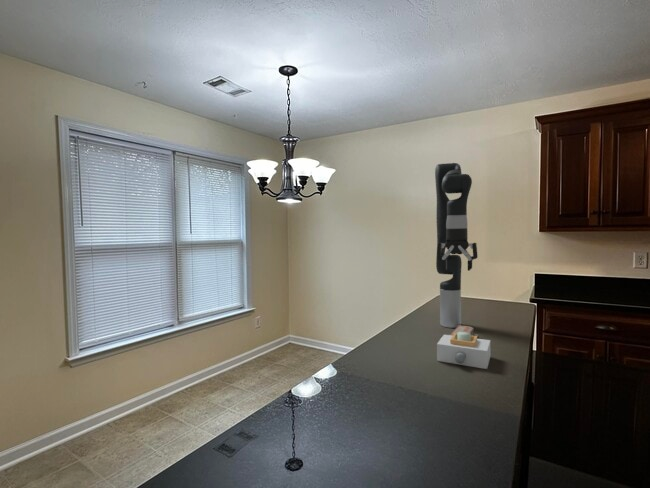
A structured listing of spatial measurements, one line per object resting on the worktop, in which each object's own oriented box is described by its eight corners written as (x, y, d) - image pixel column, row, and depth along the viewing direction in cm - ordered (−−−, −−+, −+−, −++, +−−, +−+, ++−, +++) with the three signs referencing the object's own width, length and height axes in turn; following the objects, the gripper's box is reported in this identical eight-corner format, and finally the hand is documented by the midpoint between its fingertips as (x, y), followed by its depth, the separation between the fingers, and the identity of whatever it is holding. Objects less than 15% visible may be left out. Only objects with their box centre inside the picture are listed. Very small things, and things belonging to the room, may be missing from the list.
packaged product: (453, 323, 155) (478, 326, 149) (453, 334, 155) (478, 337, 150) (442, 334, 140) (469, 338, 134) (442, 346, 140) (469, 350, 134)
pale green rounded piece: (458, 355, 128) (458, 331, 128) (471, 357, 126) (471, 332, 126) (456, 359, 125) (456, 334, 124) (469, 362, 122) (469, 336, 122)
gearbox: (444, 350, 135) (443, 330, 134) (490, 356, 127) (490, 336, 126) (435, 363, 122) (434, 342, 121) (486, 372, 114) (486, 349, 113)
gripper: (478, 227, 134) (478, 269, 135) (439, 227, 141) (439, 268, 142) (475, 227, 128) (475, 272, 129) (435, 228, 135) (435, 270, 136)
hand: (457, 269), depth 135 cm, fingers open, 8 cm apart
